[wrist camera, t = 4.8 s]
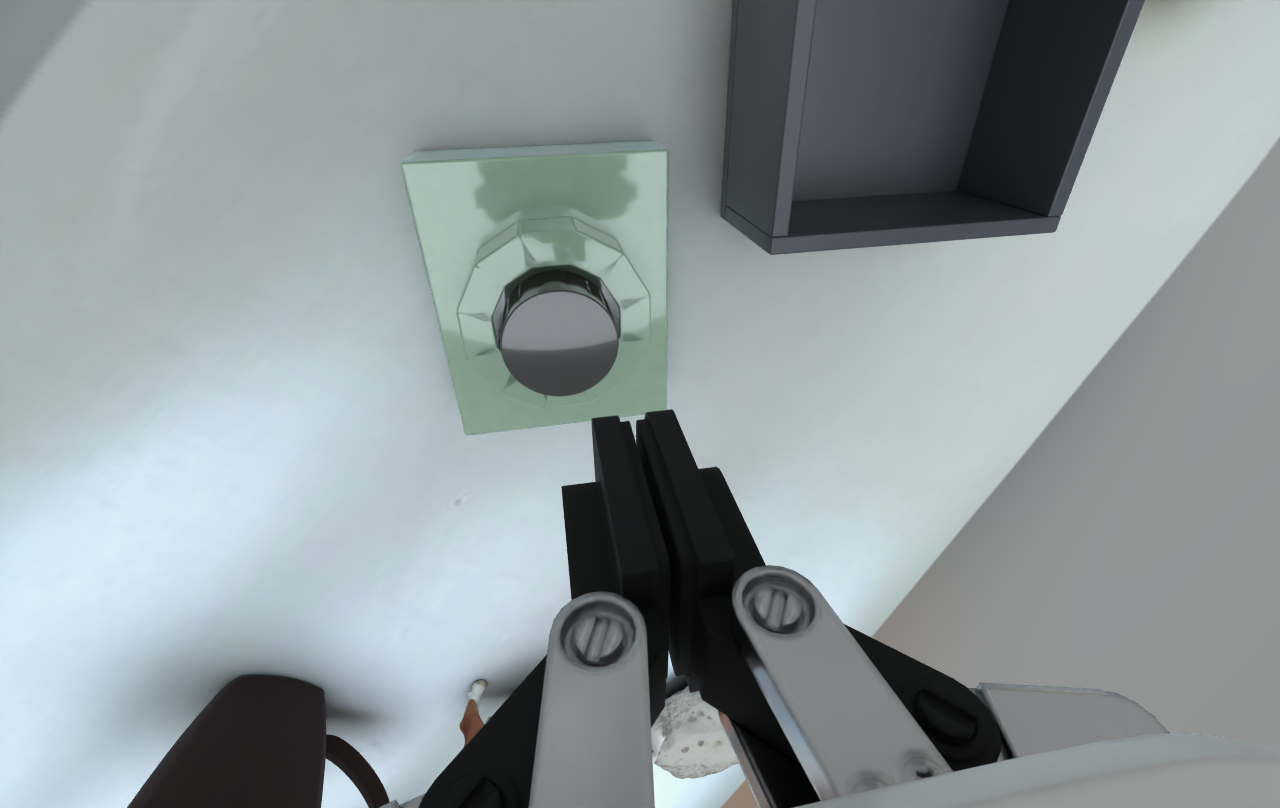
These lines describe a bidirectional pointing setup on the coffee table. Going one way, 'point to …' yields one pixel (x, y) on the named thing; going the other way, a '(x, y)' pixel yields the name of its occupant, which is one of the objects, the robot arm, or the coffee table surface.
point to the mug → (257, 752)
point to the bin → (912, 116)
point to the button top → (558, 334)
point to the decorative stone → (692, 737)
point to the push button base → (545, 266)
